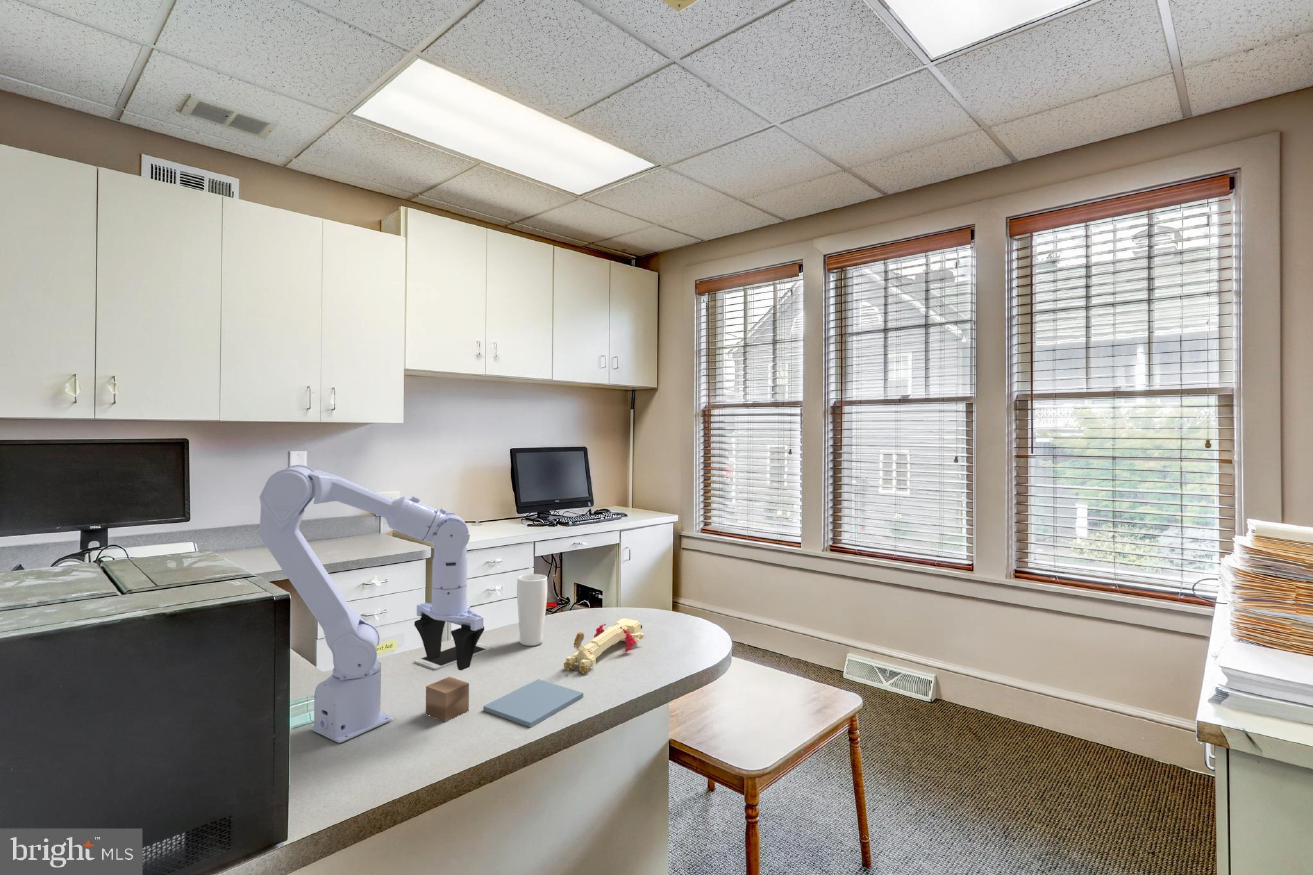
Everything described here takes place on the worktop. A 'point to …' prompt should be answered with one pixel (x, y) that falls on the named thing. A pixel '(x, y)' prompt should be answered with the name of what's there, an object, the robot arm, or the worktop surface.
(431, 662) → the smartphone
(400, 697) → the worktop surface
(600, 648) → the cream long lumpy piece
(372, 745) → the worktop surface
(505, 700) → the slate board
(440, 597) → the robot arm
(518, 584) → the drinking glass
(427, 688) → the walnut cube
